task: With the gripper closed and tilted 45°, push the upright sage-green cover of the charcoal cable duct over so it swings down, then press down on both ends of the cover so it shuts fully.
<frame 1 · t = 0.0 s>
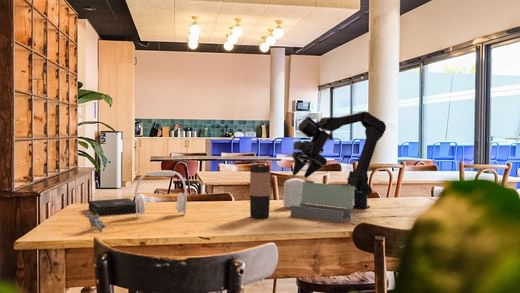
hand: (299, 176, 194), 15 cm above the table, tool tilted 35°, fingers open, 9 cm apart
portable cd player: (114, 212, 195), on the table
cable duct: (320, 217, 185), on the table
headset: (161, 216, 185), on the table
elephant figurine: (94, 230, 160), on the table
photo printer: (294, 207, 209), on the table
duct cover: (326, 194, 188), point 9 cm above the table, hinge at 100.0°
travel mug: (259, 217, 185), on the table
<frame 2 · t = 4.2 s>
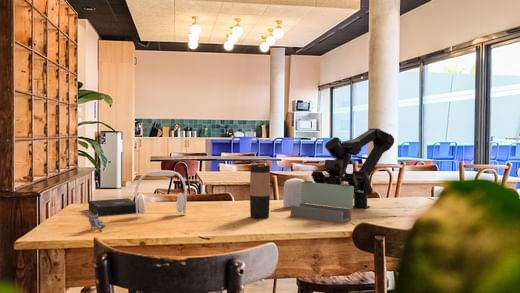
hand: (327, 195, 189), 8 cm above the table, tool tilted 45°, fingers closed, pressing on duct cover
duct cover: (325, 194, 188), point 9 cm above the table, hinge at 93.6°, touching gripper
everything else where it was.
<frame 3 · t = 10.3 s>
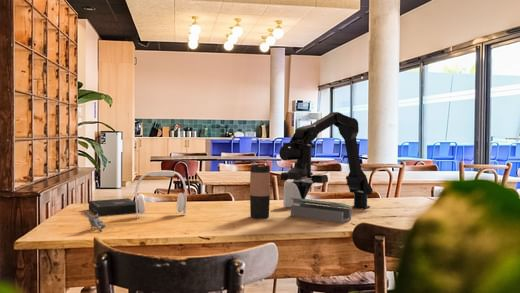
hand: (303, 199, 188), 7 cm above the table, tool pointing down, fingers closed, pressing on duct cover
duct cover: (320, 204, 184), point 5 cm above the table, hinge at 15.9°, touching gripper
everything else where it was.
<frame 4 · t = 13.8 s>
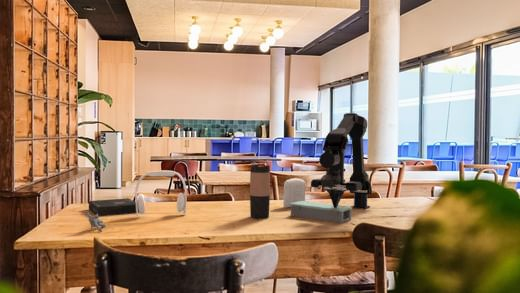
hand: (335, 207, 180), 5 cm above the table, tool pointing down, fingers closed, pressing on duct cover
duct cover: (320, 207, 184), point 4 cm above the table, hinge at -0.3°, touching gripper
everything else where it was.
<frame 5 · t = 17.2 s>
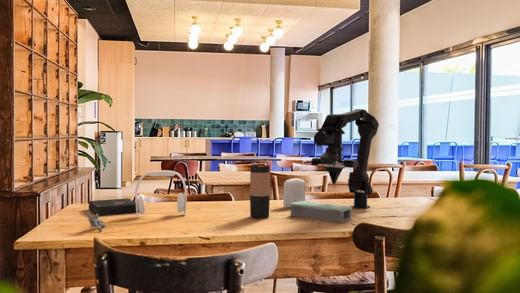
hand: (333, 183, 193), 12 cm above the table, tool pointing down, fingers closed
duct cover: (320, 207, 184), point 4 cm above the table, hinge at -0.3°
everything else where it was.
at the end: duct cover at +0° (first picture: +100°); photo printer moved 0.2 cm from its start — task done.
